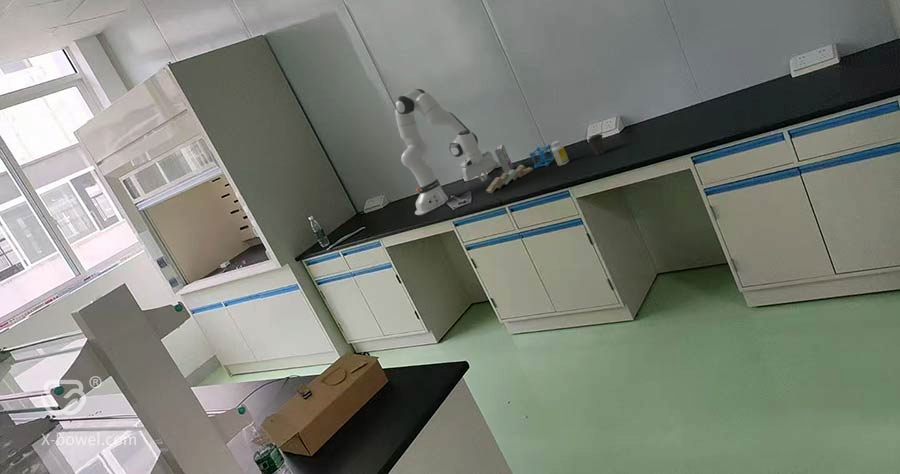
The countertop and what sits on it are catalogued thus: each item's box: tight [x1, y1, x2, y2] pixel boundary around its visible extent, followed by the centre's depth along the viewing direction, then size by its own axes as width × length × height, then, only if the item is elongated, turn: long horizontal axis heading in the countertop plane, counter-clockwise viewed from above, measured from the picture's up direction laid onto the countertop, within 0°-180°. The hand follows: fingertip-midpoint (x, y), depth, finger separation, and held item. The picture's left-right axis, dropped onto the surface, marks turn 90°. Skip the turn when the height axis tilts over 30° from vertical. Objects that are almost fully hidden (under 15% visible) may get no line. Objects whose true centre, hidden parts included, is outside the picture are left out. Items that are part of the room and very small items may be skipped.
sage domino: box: [502, 169, 517, 186], centre depth 367 cm, size 2×5×10 cm
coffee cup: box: [587, 133, 606, 156], centre depth 339 cm, size 8×8×10 cm
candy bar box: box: [494, 143, 514, 173], centre depth 388 cm, size 11×5×16 cm, turn 168°
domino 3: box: [510, 164, 527, 181], centre depth 368 cm, size 2×5×10 cm
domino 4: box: [516, 167, 534, 179], centre depth 371 cm, size 2×5×10 cm
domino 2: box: [495, 172, 510, 190], centre depth 365 cm, size 2×5×10 cm
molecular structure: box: [529, 144, 556, 169], centre depth 368 cm, size 10×10×10 cm
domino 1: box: [485, 176, 502, 194], centre depth 364 cm, size 2×5×10 cm
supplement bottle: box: [550, 140, 570, 167], centre depth 352 cm, size 7×7×13 cm
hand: (484, 180), depth 361 cm, fingers closed
